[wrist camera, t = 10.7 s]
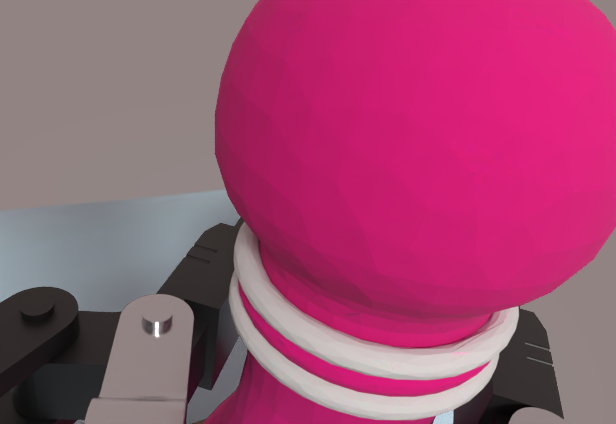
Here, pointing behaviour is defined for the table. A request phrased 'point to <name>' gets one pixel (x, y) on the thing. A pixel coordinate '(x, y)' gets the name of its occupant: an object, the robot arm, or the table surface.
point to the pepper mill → (406, 194)
